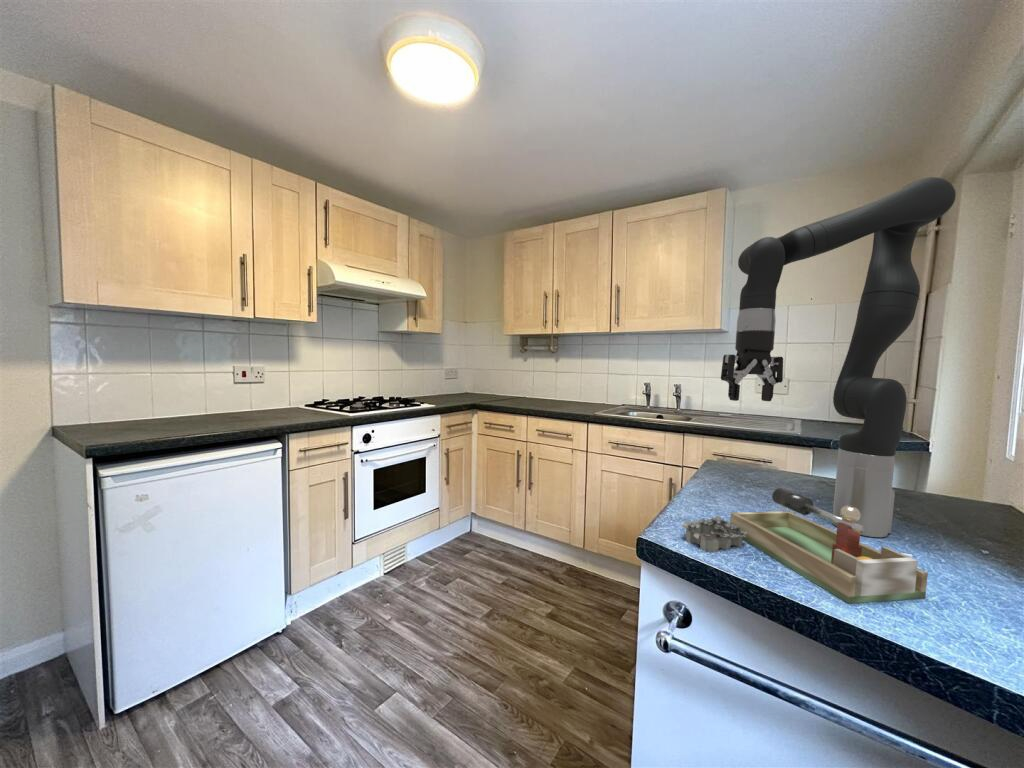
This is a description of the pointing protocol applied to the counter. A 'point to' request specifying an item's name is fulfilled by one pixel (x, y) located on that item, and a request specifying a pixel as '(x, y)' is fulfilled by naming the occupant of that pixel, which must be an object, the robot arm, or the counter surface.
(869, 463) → the robot arm
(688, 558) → the counter surface
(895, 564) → the wooden tray
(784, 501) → the foosball player rod
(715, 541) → the egg carton
